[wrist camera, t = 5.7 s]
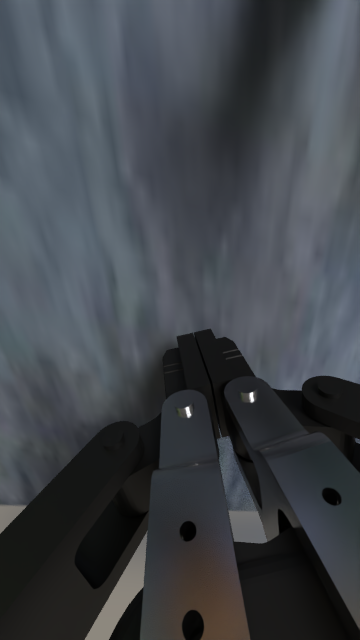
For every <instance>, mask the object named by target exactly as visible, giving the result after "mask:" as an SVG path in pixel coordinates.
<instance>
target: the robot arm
mask: <svg viewBox="0 0 360 640" xmlns="http://www.w3.org/2000/svg"><path fill="white" fill-rule="evenodd" d="M194 336H195V337H194ZM177 341H178V346H179V348H175V349H170V350H167V351H166V353H165V355H164V357H163V368H164V380H165V392H166V400H165V402H164V403H163V406H162V412H161V413H160V414H159V415H158V416H157V417H156V418H155V419H154V420H152V421H150V422H149V423H147V424H145V425H143V426H141V427H139V428H137V427H136V425H134V424H133V423H131V422H127V421H120V422H116V423H113V424H110V425H108V426H107V427H105V428H103V429H102V430H101V431H100V432H99V433H98V434H97V435H96V436H95V437H94V438H93V439H92V440H91V441H90V442H89V443H88V444H87V445H86V446H85V447H84V448H83V449H82V450H81V451H80V452H79V453H78V454H77V455H76V456H75V457H74V458H73V459H72V460H71V461H70V462H69V464H68V465H67V466H66V467H65V468H64V469H63V470H62V471H61V472H60V473H59V474H58V475H57V476H56V477H55V478H54V479H53V480H52V481H51V482H50V483H49V484H48V485H47V486H46V487H45V488H44V489H43V490H42V491H41V492H40V493H39V494H38V495H37V496H36V498H35V499H34V500H33V501H32V502H31V503H30V504H29V505H28V506H27V507H26V508H25V509H24V510H23V511H22V512H21V513H20V514H19V515H18V516H17V517H16V518H15V519H14V520H13V521H12V522H11V523H10V524H9V525H8V527H6V528H5V530H4V531H3V532H2V533H1V534H0V640H84V639H85V638H86V636H87V634H88V633H89V631H90V629H91V627H92V626H93V624H94V622H95V620H96V619H97V617H98V615H99V613H100V612H101V610H102V608H103V606H104V605H105V603H106V601H107V600H108V598H109V596H110V594H111V593H112V591H113V589H114V587H115V586H116V584H117V582H118V581H119V579H120V577H121V575H122V574H123V572H124V570H125V569H126V567H127V565H128V563H129V562H130V559H131V558H132V556H133V555H134V553H135V551H136V549H137V548H138V546H139V544H140V543H141V541H142V539H143V537H144V536H145V534H146V532H147V530H148V533H147V547H146V562H145V576H144V587H143V588H142V589H141V590H140V592H139V593H138V594H137V595H136V596H135V598H134V599H133V600H132V602H131V603H130V604H129V605H128V607H127V609H126V610H125V612H124V613H123V615H122V617H121V618H120V620H119V622H118V623H117V625H116V627H115V629H114V631H113V633H112V635H111V637H110V639H109V640H360V444H358V443H356V442H355V438H358V439H360V384H356V383H353V382H350V381H347V380H343V379H340V378H336V377H331V376H316V377H312V378H310V379H308V380H306V381H305V382H304V384H303V385H302V391H297V390H277V389H273V388H271V387H270V386H269V384H268V383H267V382H265V381H264V380H262V379H260V378H257V377H256V376H255V375H254V373H253V372H252V370H251V368H250V367H249V365H248V364H247V362H246V360H245V359H244V357H243V356H242V354H241V352H240V351H239V350H238V348H237V346H236V344H235V343H234V342H233V341H232V340H230V339H228V338H226V337H223V338H218V339H216V338H215V336H214V334H213V332H212V330H211V329H207V330H202V331H198V332H194V335H193V333H190V334H185V335H181V336H177ZM218 425H219V427H218ZM219 428H220V432H221V435H222V437H226V436H229V437H230V439H231V442H232V445H233V452H234V457H235V460H236V462H237V464H238V467H239V469H240V471H241V474H242V476H243V478H244V481H245V483H246V485H247V488H248V490H249V492H250V495H251V497H252V499H253V502H254V504H255V506H256V509H257V511H258V513H259V516H260V519H261V521H262V524H263V528H264V531H265V535H266V538H267V541H268V542H266V543H263V544H258V543H245V542H234V538H233V533H232V528H231V523H230V517H229V512H228V507H227V501H226V496H225V491H224V485H223V480H222V475H221V469H220V464H219V448H218V443H217V439H218V438H220V433H219Z"/></svg>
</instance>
